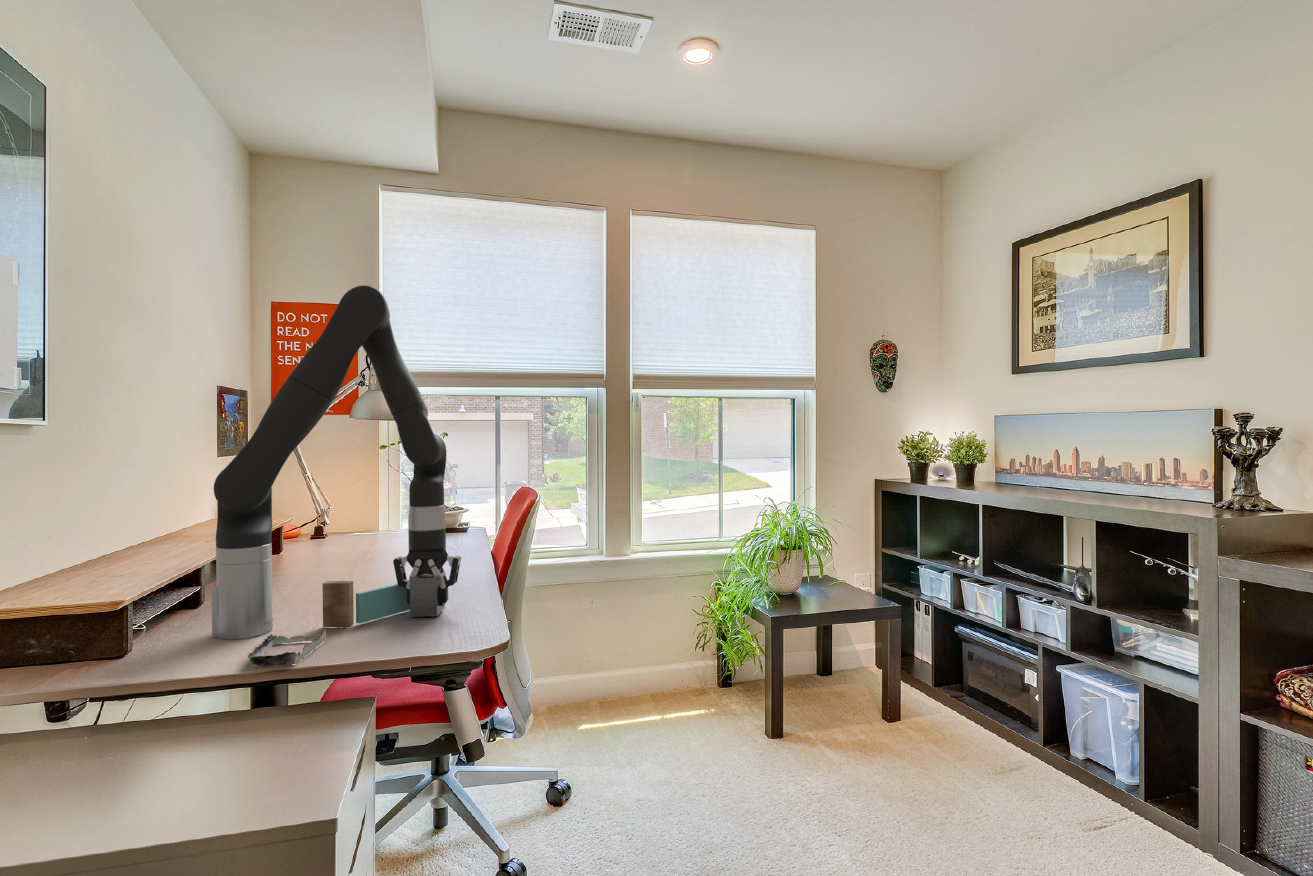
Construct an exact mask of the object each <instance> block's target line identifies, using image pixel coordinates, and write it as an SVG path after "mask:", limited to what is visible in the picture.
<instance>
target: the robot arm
mask: <svg viewBox="0 0 1313 876" xmlns="http://www.w3.org/2000/svg"><path fill="white" fill-rule="evenodd" d="M389 308H390V307H389V304H388V301H387V300H386V297H385V296H384V294H383V293H382V292H381V291H380V290H379V289H377V288H376V287H373V286H371V285H358V286H355V287H352V288H350V289H348V291H347V292H345V293H344V294H343V296H342V297H341V299H340V301H339V302H338V305H337V307H336V308H335V310H334V312H333V314H332V316H331V317H330V319H329V321H328V323H326V324H327V325H326V326H325V327H324V330H323V331H322V333H321V334H320V336H319V337H318V339H316V341H314V343H313V345H312V346H311V347H310V348H309V350H308V351H307V352H306V353H305V355H304V356H302V358H301V360H300V361H299V363H298V364H297V365H296V366H295V368H294V369H293V370H292V371H291V373H290V374H289V376H288V377H286V380H285V381H284V382H283V383H282V385H281V386H280V388H279V389H278V391H277V392H276V394H275V396H274V397H273V399H272V401H271V403H270V404H269V405H268V407H267V409H266V411H265V412H264V414H263V416H262V418H261V420H260V421H259V424H258V425H257V427H256V429H255V431H254V432H253V434H252V436H251V437H250V439H249V440H248V441H247V443H245V445H244V446H243V447H242V449H241V450H239V452H238V453H237V455H236V456H234V458H233V459H232V460H231V461H230V462H229V463H228V464H227V465H226V467H225V468H223V469H222V470H221V471H220V472H219V474H218V475H217V476H216V478H215V480H214V483H213V496H214V497H215V500H216V503H217V505H216V506H217V507H216V508H217V511H216V512H217V513H216V515H217V517H216V518H217V520H216V521H217V522H216V523H217V524H216V529H215V530H216V532H215V556H216V557H215V558H216V559H215V562H216V564H215V568H216V573H215V574H216V585H215V586H213V587H211V590H210V591H211V593H210V594H211V596H210V597H211V599H210V600H211V637H212V638H219V639H222V640H236V639H238V640H240V639H246V638H252V637H256V636H260V635H264V634H266V633H269V632H270V631H271V632H272V630H273V629H272V628H273V626H274V624H273V621H274V617H273V614H274V613H273V553H272V552H273V551H272V550H273V547H272V544H273V543H272V541H273V540H272V535H273V534H272V532H273V529H272V528H273V501H272V500H273V495H272V494H273V489H272V488H273V485H274V483H275V481H276V479H277V477H278V476H279V474H280V472H281V470H282V468H283V466H284V465H285V463H286V461H287V460H288V458H289V457H290V455H291V454H292V453H293V452H294V450H295V449H296V448H297V447H298V446H299V445H300V444H301V443H302V442H303V440H305V439H306V438H307V436H308V435H309V434H310V433H311V432H312V430H313V429H314V428H315V427H316V426H317V424H318V423H319V422H320V421H321V420H322V418H323V416H325V413H326V412H327V411H328V409H329V407H330V406H331V404H332V403H333V402H334V400H335V399H336V397H337V396H338V393H339V392H340V389H341V388H342V387H343V386H342V385H343V383H344V381H345V378H346V377H347V375H348V374H347V373H348V372H349V368H350V366H351V364H352V361H353V359H354V357H355V356H356V354H357V353H358V351H359V350H360V348H361V347H362V349H364V352H365V353H366V355H367V357H368V360H369V361H370V364H371V366H372V368H373V370H374V372H375V375H376V380H377V381H378V385H379V387H380V390H381V393H382V395H383V398H384V400H385V402H386V404H387V405H386V406H388V409H389V412H390V414H391V416H392V418H393V419H394V422H395V424H396V427H397V433H398V436H399V440H400V442H401V446H402V450H403V451H404V453H405V455H406V457H407V459H408V460H409V461H410V462H411V463H412V464H413V477H412V479H411V481H410V482H409V488H408V489H409V493H408V494H409V495H408V496H409V501H408V502H409V503H408V504H409V509H408V517H407V518H408V519H407V520H408V521H407V522H408V524H407V525H408V534H407V535H408V553H407V555H406V556H398V557H396V558H393V561H392V564H393V568H394V573H395V577H396V582H397V583H396V584H398V586H403V587H405V588H406V589H407V602H408V604H410V578H411V577H416V576H417V575H423V574H429V575H434V576H435V577H438V578H439V585H440V587H441V588H440V589H439V605H440V606H444V605H445V606H446V603H447V602H448V601H449V587H451V586H452V587H453V586H454V585H455V584H457V582H458V578H459V572H460V568H461V562H462V557H461V556H460V555H457V556H452V555H449V553H448V552H447V550H446V549H447V548H446V547H447V544H446V543H447V539H446V538H447V536H446V534H447V530H446V529H447V528H446V526H447V519H446V509H445V487H444V484H445V483H444V482H445V473H446V465H447V446H446V442H445V441H444V439H443V438H442V437H441V436H439V435H438V434H435V433H434V431H433V429H432V425H431V424H430V421H429V418H428V416H429V412H428V408H427V405H426V403H425V401H424V398H423V396H422V394H421V392H420V390H419V387H418V385H417V383H416V381H415V379H414V378H413V376H412V374H411V372H410V370H409V368H408V366H407V365H406V363H405V361H404V359H403V356H402V354H401V353H400V351H399V348H398V346H397V343H396V339H395V336H394V333H393V329H392V324H391V320H390V319H391V318H390V317H391V314H390V313H391V312H390V309H389ZM446 562H448V566H449V567H450V572H449V573H450V574H449V579H448V578H447V576H446V572H445V569H444V565H445V564H446ZM407 563H408V565H409V566H410V567H411V568H412V569H411V572H410V575H409V578H407V574H406V568H405V567H406V566H407Z"/></svg>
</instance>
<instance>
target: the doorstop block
mask: <svg viewBox="0 0 1313 876" xmlns="http://www.w3.org/2000/svg"><path fill="white" fill-rule="evenodd" d="M440 588H441V587H440V585H439V578H438V577H435V576H434V575H429V574H423V575H417V576H416V577H411V578H410V610H409V611H410V612H409V614H410V615H409V616H410V617H412V618H413V617H438V616H439V615H440V614H441V612H443V611H444V610H445V607H446V604H445V605H444V606H440V605H439V589H440Z"/></svg>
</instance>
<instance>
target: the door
mask: <svg viewBox="0 0 1313 876" xmlns="http://www.w3.org/2000/svg"><path fill="white" fill-rule="evenodd" d="M407 611H410V604H408V602H407V589H406V588H405V587H403V586H398V584H397V583H396V584H390V585H386V586H382V587H377V588H373V589H369V590H364V591H360V592H356V593H355V623H356V624H358V625H359V624H360V625H361V624H363V623H368V622H371V621H374V620H378V619H381V618H386V617H388V616H392V615H393V616H394V615H396V614H397V615H398V614H401V613H403V612H407Z"/></svg>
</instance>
